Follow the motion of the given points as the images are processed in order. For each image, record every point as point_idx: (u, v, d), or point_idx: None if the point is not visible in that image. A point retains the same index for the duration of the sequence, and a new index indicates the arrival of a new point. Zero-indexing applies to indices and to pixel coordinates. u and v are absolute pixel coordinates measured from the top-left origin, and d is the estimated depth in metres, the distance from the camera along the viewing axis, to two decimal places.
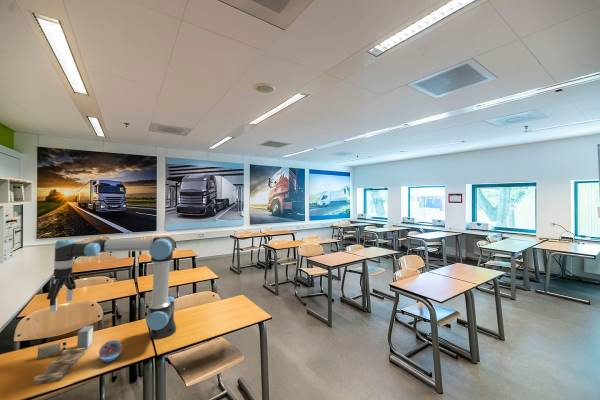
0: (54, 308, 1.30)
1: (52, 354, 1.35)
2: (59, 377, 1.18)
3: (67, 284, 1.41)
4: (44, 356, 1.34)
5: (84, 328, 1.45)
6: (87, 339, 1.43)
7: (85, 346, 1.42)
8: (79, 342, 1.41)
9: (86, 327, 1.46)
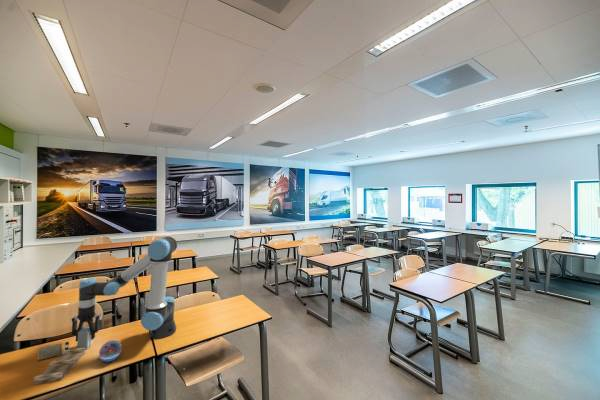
0: None
1: (54, 354, 1.35)
2: (59, 377, 1.18)
3: None
4: (46, 357, 1.33)
5: (84, 328, 1.45)
6: (87, 339, 1.43)
7: (85, 346, 1.42)
8: (79, 342, 1.41)
9: (86, 327, 1.46)
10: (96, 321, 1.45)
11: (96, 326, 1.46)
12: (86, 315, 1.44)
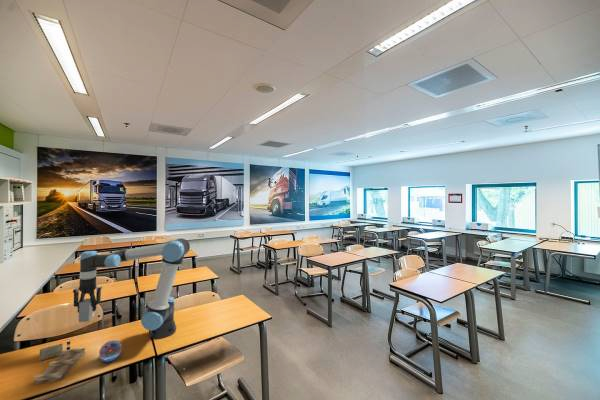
0: None
1: (55, 354, 1.35)
2: (59, 377, 1.18)
3: None
4: (47, 357, 1.33)
5: (85, 300, 1.45)
6: (88, 310, 1.43)
7: (86, 317, 1.42)
8: (81, 313, 1.41)
9: (87, 299, 1.46)
10: (97, 293, 1.46)
11: (97, 298, 1.46)
12: (87, 287, 1.44)
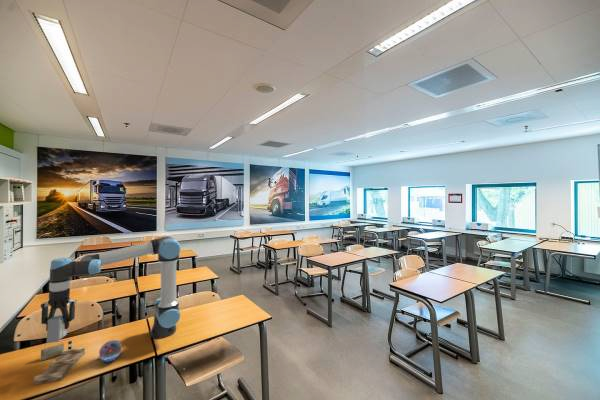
0: None
1: (57, 354, 1.35)
2: (59, 377, 1.18)
3: None
4: (48, 357, 1.33)
5: (56, 316, 1.23)
6: (59, 328, 1.21)
7: (56, 337, 1.20)
8: (49, 332, 1.19)
9: (59, 315, 1.24)
10: (70, 308, 1.23)
11: (70, 314, 1.23)
12: (58, 300, 1.22)
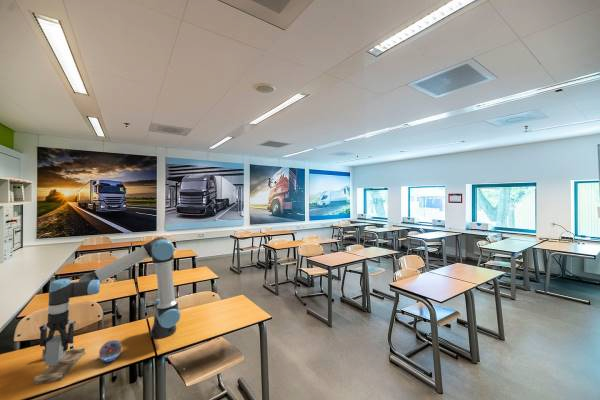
0: None
1: None
2: (59, 377, 1.18)
3: None
4: None
5: (55, 338, 1.23)
6: (58, 351, 1.20)
7: (55, 359, 1.19)
8: (48, 355, 1.19)
9: (57, 337, 1.24)
10: (69, 330, 1.23)
11: (69, 336, 1.23)
12: (57, 322, 1.22)
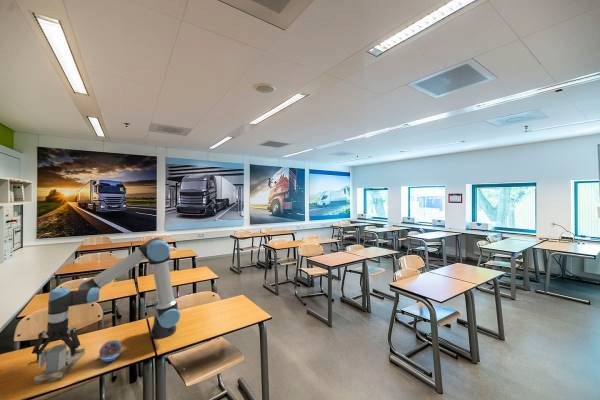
0: None
1: None
2: (59, 377, 1.18)
3: None
4: None
5: (55, 348, 1.23)
6: (58, 361, 1.20)
7: (55, 370, 1.19)
8: (48, 366, 1.19)
9: (57, 347, 1.24)
10: (72, 336, 1.23)
11: (74, 341, 1.24)
12: (57, 331, 1.22)
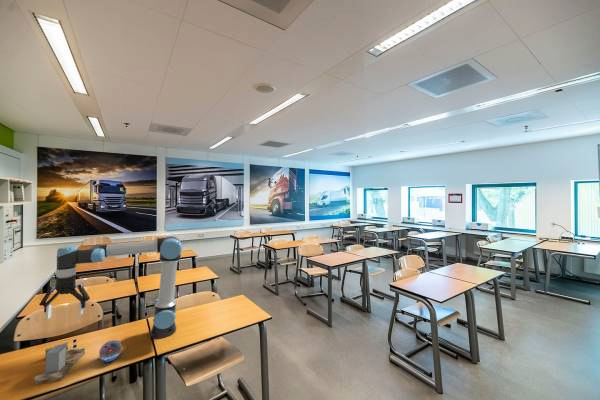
0: None
1: None
2: (59, 377, 1.18)
3: None
4: None
5: (55, 348, 1.23)
6: (58, 361, 1.20)
7: (55, 370, 1.19)
8: (48, 366, 1.19)
9: (57, 347, 1.24)
10: (80, 290, 1.31)
11: (83, 295, 1.31)
12: (65, 286, 1.29)
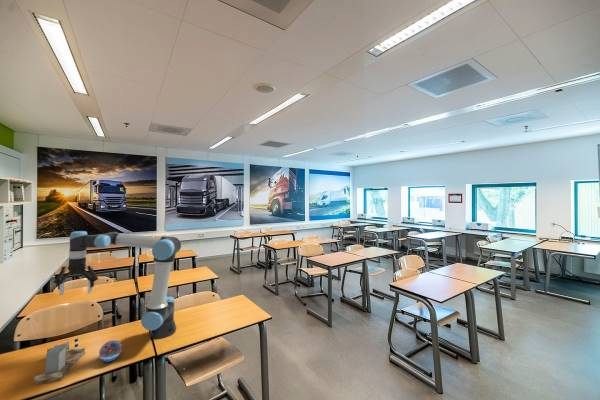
0: None
1: None
2: (59, 377, 1.18)
3: None
4: None
5: (55, 348, 1.23)
6: (58, 361, 1.20)
7: (55, 370, 1.19)
8: (48, 366, 1.19)
9: (57, 347, 1.24)
10: (90, 270, 1.46)
11: (92, 275, 1.46)
12: (77, 267, 1.44)
